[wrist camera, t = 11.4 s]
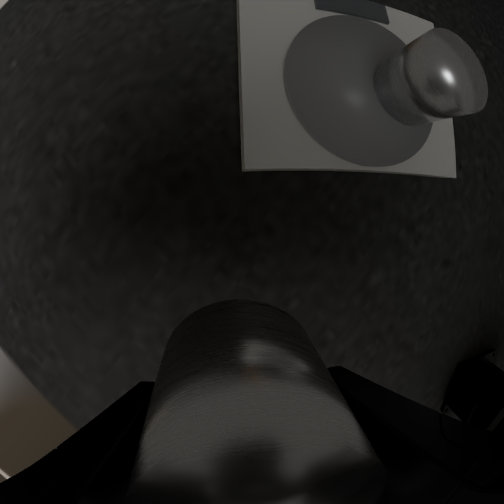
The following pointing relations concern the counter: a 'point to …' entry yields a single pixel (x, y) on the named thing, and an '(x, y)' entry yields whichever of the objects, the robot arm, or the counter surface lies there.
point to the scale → (329, 90)
